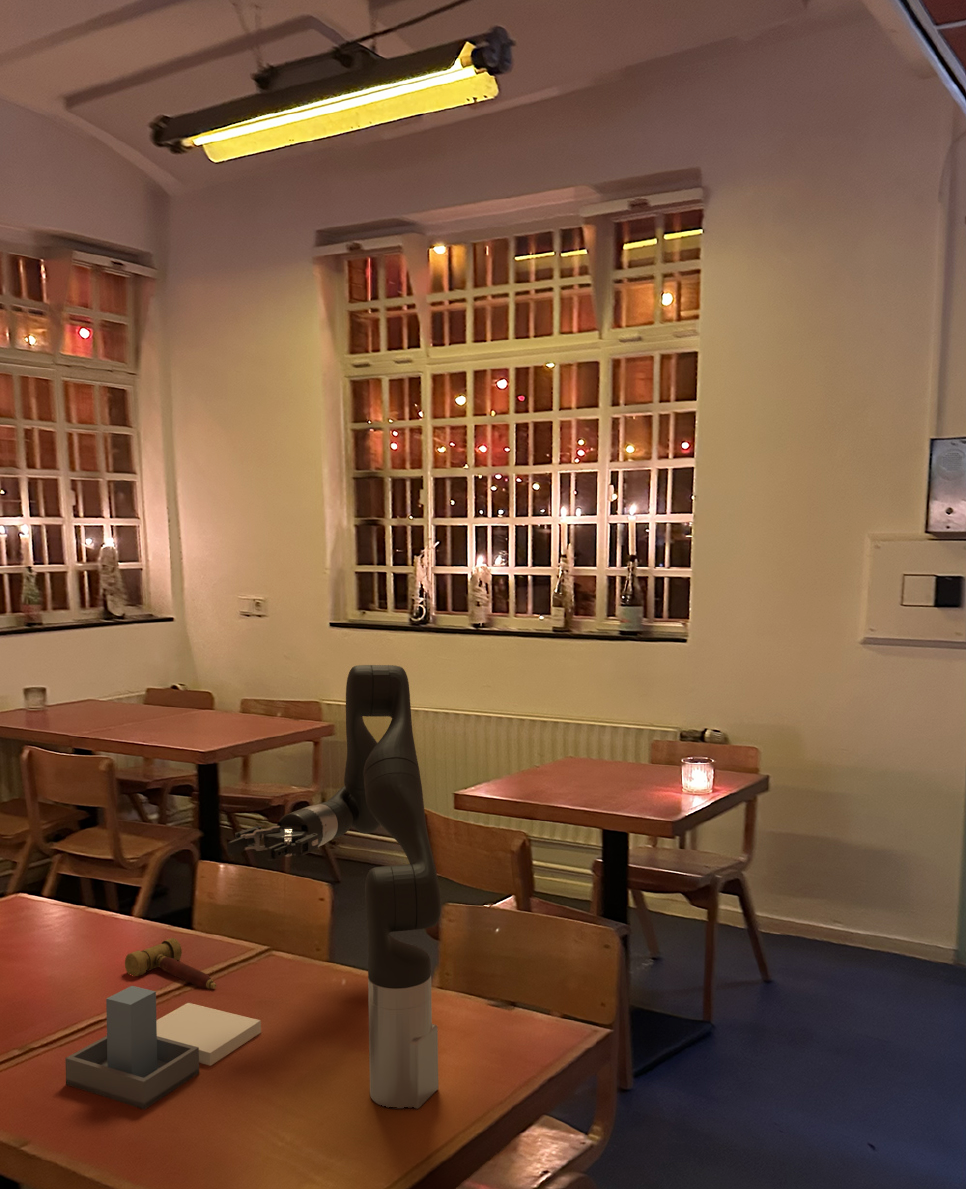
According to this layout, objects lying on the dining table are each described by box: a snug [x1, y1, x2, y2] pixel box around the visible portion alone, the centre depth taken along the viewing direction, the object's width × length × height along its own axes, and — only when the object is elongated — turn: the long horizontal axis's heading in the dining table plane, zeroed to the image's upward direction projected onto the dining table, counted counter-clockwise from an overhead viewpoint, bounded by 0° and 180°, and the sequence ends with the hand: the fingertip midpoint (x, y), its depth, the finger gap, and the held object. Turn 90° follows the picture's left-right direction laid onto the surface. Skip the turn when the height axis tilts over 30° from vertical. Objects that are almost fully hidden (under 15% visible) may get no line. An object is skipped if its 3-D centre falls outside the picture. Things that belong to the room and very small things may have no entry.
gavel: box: [124, 937, 217, 990], centre depth 182 cm, size 21×5×10 cm
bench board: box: [156, 1002, 262, 1067], centre depth 157 cm, size 16×12×2 cm
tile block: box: [105, 985, 157, 1078], centre depth 144 cm, size 5×5×12 cm
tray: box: [64, 1035, 200, 1110], centre depth 144 cm, size 16×11×4 cm
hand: (248, 851), depth 159 cm, fingers open, 8 cm apart
